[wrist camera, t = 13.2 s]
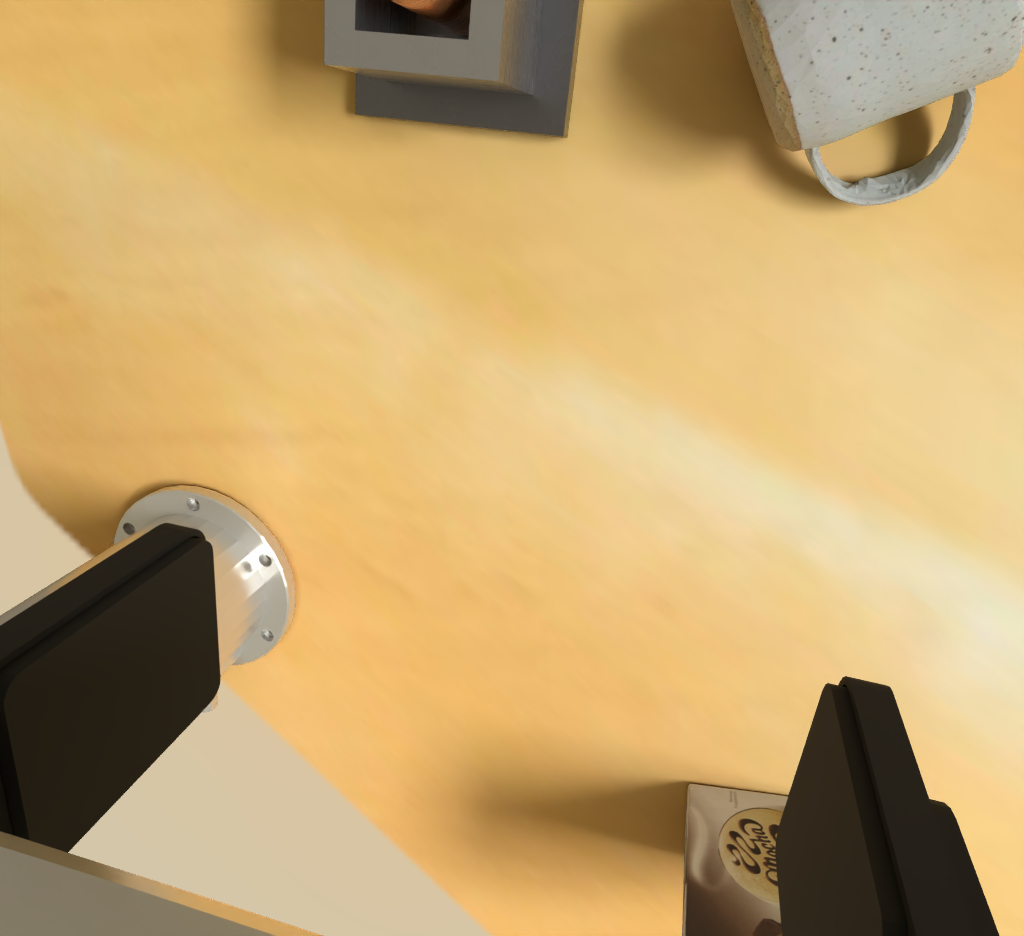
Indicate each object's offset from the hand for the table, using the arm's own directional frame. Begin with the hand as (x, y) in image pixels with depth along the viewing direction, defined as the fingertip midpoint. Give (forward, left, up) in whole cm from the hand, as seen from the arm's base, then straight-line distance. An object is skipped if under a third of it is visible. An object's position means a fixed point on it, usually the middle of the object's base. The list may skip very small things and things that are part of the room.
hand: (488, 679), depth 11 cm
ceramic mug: (+12, -7, -29) cm, 32 cm away
